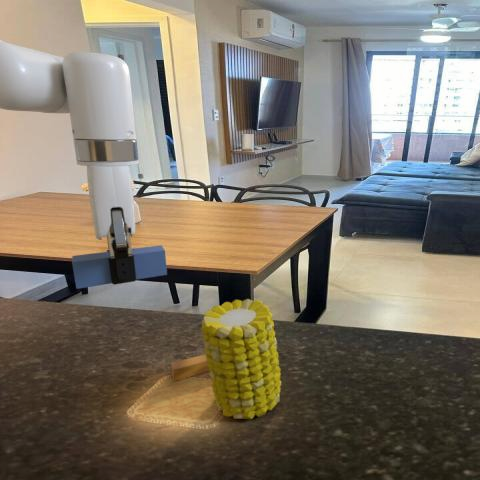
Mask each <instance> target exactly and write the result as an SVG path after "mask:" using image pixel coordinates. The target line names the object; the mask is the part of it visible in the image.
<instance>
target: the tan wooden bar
mask: <svg viewBox="0 0 480 480" xmlns="http://www.w3.org/2000/svg"><path fill="white" fill-rule="evenodd" d="M206 358H207V357H206V353H205V354H204V353H203V354H201V355H197V356H192V357H190V358H189V357H188V358H185V359H182V360H177V361H174V362H170V370H171V376H172V380H173V382H176V381H180V380H183V379H186V378H190V377H194V376H198V375H200V374H205V373H208V372H210V369H209V367H208V365H207V364H208V361H207V359H206Z"/></svg>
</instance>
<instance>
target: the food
mask: <svg viewBox="0 0 480 480" xmlns="http://www.w3.org/2000/svg"><path fill="white" fill-rule="evenodd" d="M273 318H274V314H273V313H272V312H271V310H270V308H269V306H268V305H266V304H263V301H262V300H258V299H255V300H254V301H253V300H252V299H249V298H246V299H244V300H240V299H234V300H232V302H230V301H225V302H223V303H222V304H221V305H213V308H212V309H211V310H210V309H209V310H208V311H207V312H206V313H205V314H204V316H203V318H202V319H201V333H202V339H203V349H204V352H205V354H206V357H207V358H206V359H207V361H208V364H207V365H208V367H209V369H210V371H209V373H208V376H209V377H210V378H211V379H210V380H211V389H212V391H213V396H214V398H215V404H216V407H217V410H218V411H222V415H223V416H225V417H227V418H231V417H233V419H235V420H241V419H243V420H252V419H253V418H254V417H255V416H256V417H257V418H259V417H263V416H265V415H266V413H267V411H272V410H273V408H275V407H276V405H277V404H278V403H279V402H281V399H280V398H281V397H280V396H281V395H280V392H281V391H282V390H281V386H282V381H281V375H282V373H281V370H282V369H281V368H280V360H279V357H280V356H279V352H278V351H277V349H278V347H277V345H278V341H277V338H276V331H275V330H274V328H275V324H274V323H275V322H274V320H273Z"/></svg>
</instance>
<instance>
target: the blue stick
mask: <svg viewBox="0 0 480 480" xmlns="http://www.w3.org/2000/svg"><path fill="white" fill-rule="evenodd" d="M131 249H132V255H134V263H135V272H136V281H137V280H142V279H149V278H156V277H160V276H167V275H168V268H167V255H166V250H165V248H164V247H163V245H161V244H160V245H152V246H144V247H136V248H131ZM71 257H72V258H71V265H72V270H73V271H72V272H73V277H74V283H75V288H76V290H79V289H85V288H92V287H97V286H104V285H112V281H111V274H110V266H109V259H108V258H110V251H109V252H107V251H102V252H93V253H84V254H79V255H78V254H76V255H72V256H71Z"/></svg>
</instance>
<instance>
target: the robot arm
mask: <svg viewBox="0 0 480 480" xmlns="http://www.w3.org/2000/svg"><path fill="white" fill-rule="evenodd" d="M133 102H134V101H133V91H132V83H131V73H130V68H129V65H128V64H127V63H126V61H125V60H123V59H122V58H121V57H118V56H116V55H112V54H108V53H102V52H91V51H74V52H69V53H67V54H66V55H65V56H60V55H57V54H56V55H55V54H52V53H47V52H46V51H45V52H44V51H42V50H37V49H33V48H30V47H26V46H23V45H19V44H16V43H15V44H14V43H10V42H6V41H4V40H2V39H0V109H1V110H6V111H16V112H35V113H43V114H69V119H70V124H71V133H72V138H73V145H74V154H75V158H76V165H78V166H82V167H83V166H85V167H86V177H87V178H86V179H87V187H88V188H87V189H88V195H89V201H90V202H89V203H90V209H91V217H92V223H93V229H94V236H95V238H96V239H97V240H98V241H102V238H106V241H107V250H106V252H109V251H110V258H108V259H109V266H110V274H111V281H112V283H111V285H121V284H128V283H133V282H134V283H135V281H137V280H136V272H135V263H134V255H132V249H133V248H132V242H131V238H132V237H133V236H135V235H136V214H135V199H134V189H133V180H132V172H131V166H135V165H138V164H140V160H139V152H138V143H137V132H136V123H135V113H134V111H135V110H134V104H133Z"/></svg>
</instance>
